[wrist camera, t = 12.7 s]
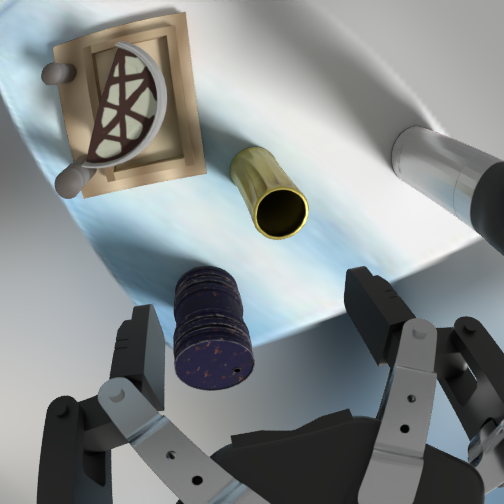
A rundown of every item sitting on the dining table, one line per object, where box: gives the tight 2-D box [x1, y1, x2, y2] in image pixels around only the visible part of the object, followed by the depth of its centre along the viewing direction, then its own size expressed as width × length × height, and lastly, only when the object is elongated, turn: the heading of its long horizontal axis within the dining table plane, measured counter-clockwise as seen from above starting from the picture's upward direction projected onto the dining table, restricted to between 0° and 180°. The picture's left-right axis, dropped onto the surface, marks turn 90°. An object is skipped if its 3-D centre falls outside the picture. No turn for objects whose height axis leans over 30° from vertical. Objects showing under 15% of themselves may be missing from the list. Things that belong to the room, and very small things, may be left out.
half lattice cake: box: [81, 41, 167, 168], centre depth 28 cm, size 12×6×10 cm, turn 159°
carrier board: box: [41, 12, 207, 199], centre depth 30 cm, size 16×20×9 cm
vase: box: [230, 147, 309, 240], centre depth 35 cm, size 6×6×14 cm
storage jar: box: [173, 266, 255, 391], centre depth 43 cm, size 10×10×15 cm
